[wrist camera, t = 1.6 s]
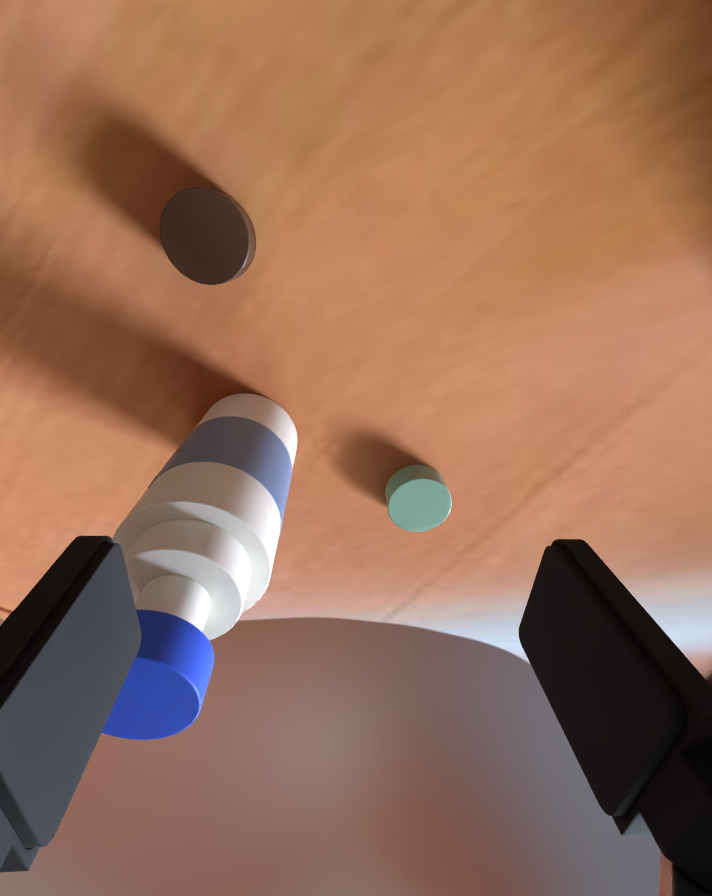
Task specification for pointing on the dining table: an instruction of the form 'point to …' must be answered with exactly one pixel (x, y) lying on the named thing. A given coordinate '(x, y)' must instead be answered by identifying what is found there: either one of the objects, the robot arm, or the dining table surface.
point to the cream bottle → (200, 556)
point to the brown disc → (207, 235)
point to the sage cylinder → (417, 498)
